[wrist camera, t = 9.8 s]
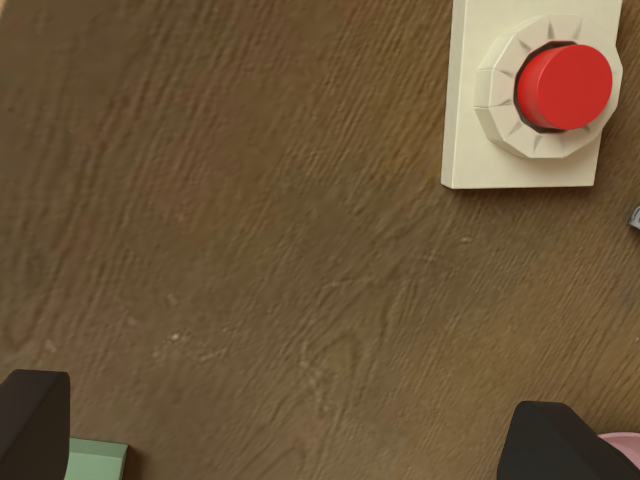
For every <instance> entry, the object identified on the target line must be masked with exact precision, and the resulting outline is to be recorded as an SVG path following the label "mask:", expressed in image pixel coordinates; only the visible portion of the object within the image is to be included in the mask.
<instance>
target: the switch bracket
mask: <svg viewBox="0 0 640 480" xmlns="http://www.w3.org/2000/svg"><path fill="white" fill-rule="evenodd" d="M127 447H128V445H126V444H117V443H109V442H101V441H92V440H84V439H76V438H70V445H69V460H68V466H67V471H66V475H65V478H64V480H122V476H123V470H124V464H125V459H126V453H127Z"/></svg>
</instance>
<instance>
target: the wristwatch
mask: <svg viewBox="0 0 640 480" xmlns="http://www.w3.org/2000/svg"><path fill="white" fill-rule="evenodd" d="M628 225H630V226H633V227H635V228H637V229H639V230H640V205H639V206H638V207H637V208H636V209H635V210H634V211H633V214H632V216H631V219H630V222H629V223H628Z"/></svg>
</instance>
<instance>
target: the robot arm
mask: <svg viewBox="0 0 640 480" xmlns="http://www.w3.org/2000/svg"><path fill="white" fill-rule="evenodd" d="M69 445H70V378H69V375H68V373H67V372H56V371H39V370H22V369H17V370H14V371H13V372H12V373H11V374H10V375H9V376H8V377H7V378H6V379H5V380H4V382H3V383H2V384H1V385H0V480H64V478H65V475H66V471H67V466H68V460H69ZM497 480H640V469H639V468H638V467H637V466H636V465H635V464H634V463H633V462H632V461H631V460H630V459H629V458H628V457H627V456H626V455H625V454H623V453H622V452H621V451H620V450H618V449H617V448H615V447H614V446H612V445H611V444H609V443H608V442H606V441H605V440H603V439H602V438H600V437H599V436H598V435H597V434H596V433H595V432H594V431H593V430H592V429H591V428H590V427H589V426H588V425H587V424H586V423H585V422H584V421H583V420H582V419H581V418H580V417H579V416H578V415H577V414H576V413H575V412H574V411H573V410H572V409H571V408H570V407H568V406H567V405H566V404H563V403H556V402H539V401H522V402H520V403H519V404H518V405H517V407H516V409H515V411H514V414H513V417H512V421H511V424H510V428H509V431H508V434H507V438H506V441H505V444H504V448H503V451H502V454H501V458H500V461H499V465H498V469H497Z"/></svg>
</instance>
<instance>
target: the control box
mask: <svg viewBox="0 0 640 480" xmlns="http://www.w3.org/2000/svg"><path fill="white" fill-rule="evenodd" d="M621 6H622V0H454V1H453V15H452V29H451V43H450V58H449V72H448V86H447V101H446V115H445V129H444V143H443V158H442V172H441V184H443V185H445V186H447V187H449V188H451V189H481V188H527V187H574V186H593V185H594V178H595V172H596V166H597V159H598V153H599V147H600V140H601V134H602V129H603V127H604V126H605V124H606V123H607V121H608V120H609V118H610V117H611V115H612V114H613V112H614V111H615V109H616V107H617V104H618V98H619V92H620V86H621V80H622V74H623V67H622V64H621V61H620V58H619V56H618V53H617V50H616V47H615V45H616V38H617V32H618V26H619V19H620V13H621ZM579 44H581V45H587V46H591V47H593V48H595V49H597V50H598V51H600V52H601V53H602V54H603V55H604V56H605V58H606V59H607V61H608V62H609V65H610V67H611V71H612V77H613V84H612V91H611V95H610V98H609V100H608V103H607V105H606V106H605V108H604V109H603V111H602V112H601V113H600V115H599V116H598V117H597V118H595V119H594V120H593V121H592V122H590V123H589V124H587V125H585V126H583V127H581V128H578V129H572V130H563V129H554V128H544V127H540V126H537V125H535V124H533V123H531V122H530V121H529V120H528V119H527V118H526V117H525V116H524V115H523V113H522V111H521V109H520V107H519V104H518V99H517V88H518V82H519V79H520V76H521V74H522V72H523V70H524V68H525V67H526V66H527V64H528V63H529V62H530V61H531V60H532V59H533V58H534V57H535V56H536V55H538V54H539V53H541V52H543V51H546V50H548V49H553V48H558V47H564V46H570V45H579Z"/></svg>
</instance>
